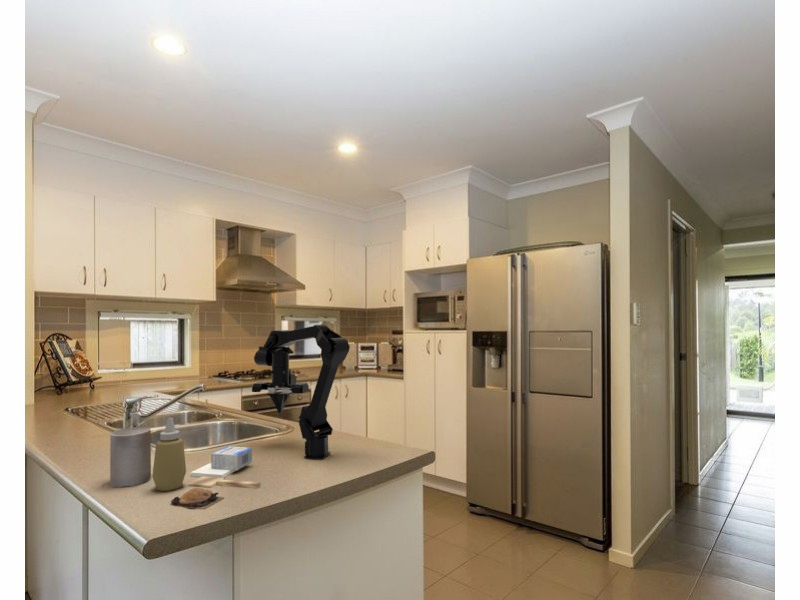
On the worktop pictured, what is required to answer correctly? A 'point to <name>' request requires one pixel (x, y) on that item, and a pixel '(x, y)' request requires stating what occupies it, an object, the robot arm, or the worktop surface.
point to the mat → (211, 472)
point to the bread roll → (197, 499)
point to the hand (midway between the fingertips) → (280, 413)
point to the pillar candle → (130, 456)
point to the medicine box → (231, 458)
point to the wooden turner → (221, 483)
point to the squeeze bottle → (169, 459)
